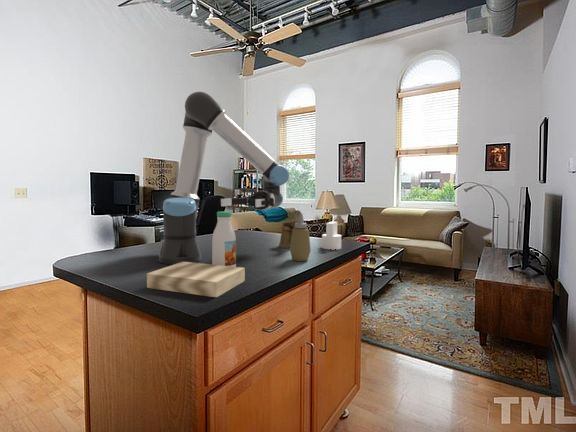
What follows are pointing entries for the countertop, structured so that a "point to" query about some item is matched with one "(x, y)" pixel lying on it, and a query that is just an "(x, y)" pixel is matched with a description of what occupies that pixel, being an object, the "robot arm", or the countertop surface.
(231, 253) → the milk bottle
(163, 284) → the board
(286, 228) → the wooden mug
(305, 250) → the squeeze bottle
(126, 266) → the countertop surface
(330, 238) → the white tiered cake
